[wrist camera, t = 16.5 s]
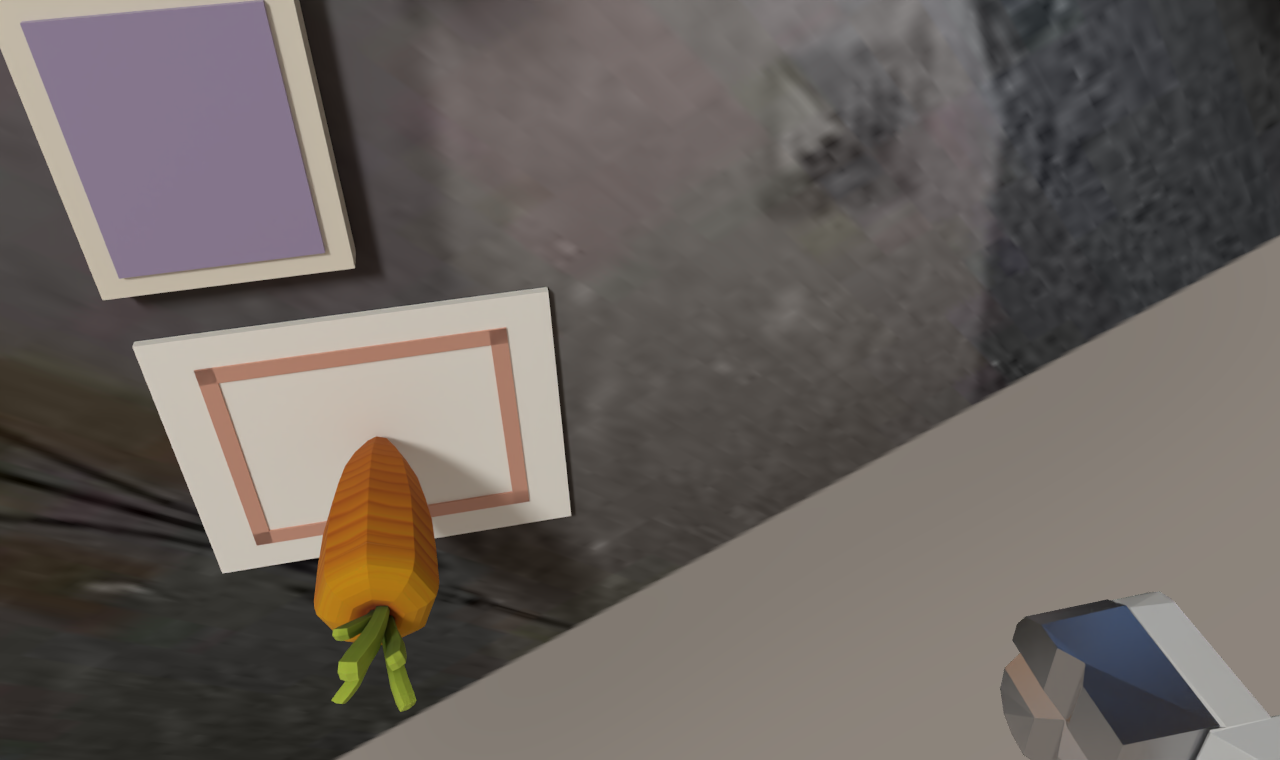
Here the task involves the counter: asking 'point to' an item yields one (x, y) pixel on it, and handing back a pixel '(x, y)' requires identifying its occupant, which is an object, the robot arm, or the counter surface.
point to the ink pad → (182, 138)
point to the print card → (364, 418)
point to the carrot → (377, 566)
